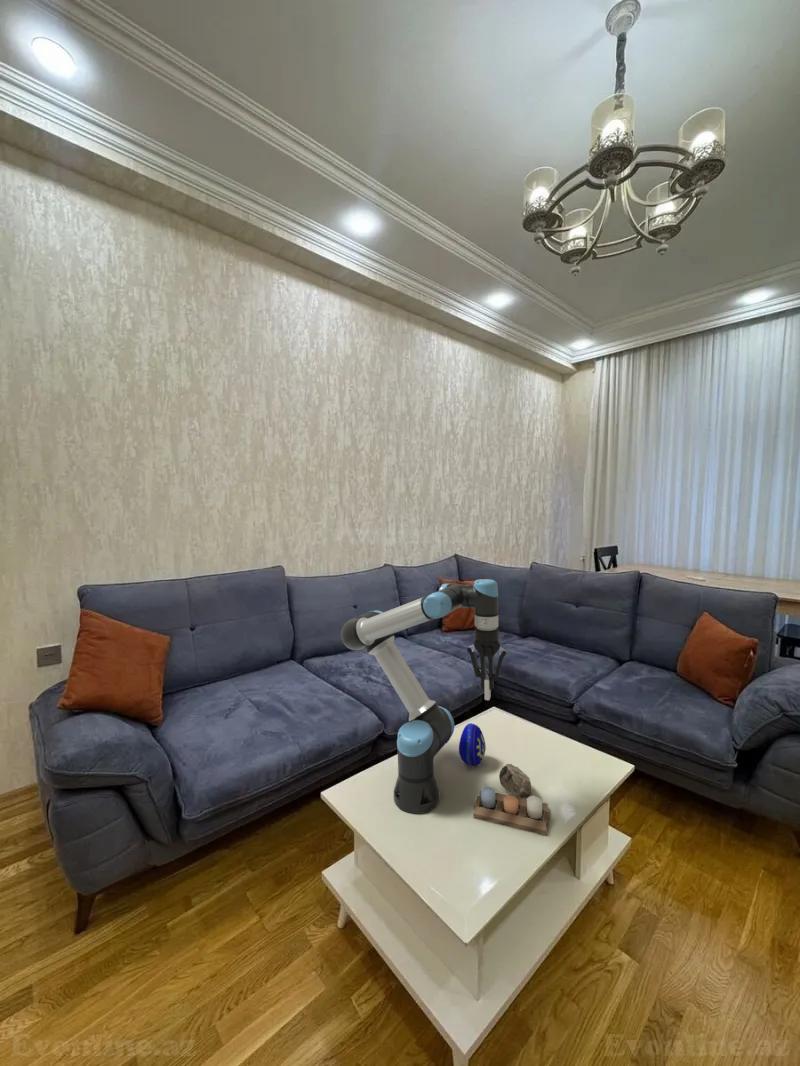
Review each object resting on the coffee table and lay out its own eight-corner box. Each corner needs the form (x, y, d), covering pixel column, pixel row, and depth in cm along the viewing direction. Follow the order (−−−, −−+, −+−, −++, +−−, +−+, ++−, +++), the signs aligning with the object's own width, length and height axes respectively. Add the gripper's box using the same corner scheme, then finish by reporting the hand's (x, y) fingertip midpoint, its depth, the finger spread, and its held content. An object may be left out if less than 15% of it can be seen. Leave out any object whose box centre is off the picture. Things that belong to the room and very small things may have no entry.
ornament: (478, 775, 152) (477, 734, 151) (454, 767, 157) (453, 727, 156) (489, 759, 162) (488, 720, 161) (466, 752, 166) (465, 714, 165)
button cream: (526, 816, 129) (526, 804, 129) (527, 807, 133) (527, 794, 133) (541, 820, 127) (541, 807, 127) (542, 810, 131) (542, 797, 131)
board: (471, 817, 131) (471, 813, 131) (479, 793, 143) (479, 788, 142) (547, 836, 123) (547, 831, 123) (549, 808, 134) (549, 804, 134)
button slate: (480, 805, 134) (479, 793, 134) (482, 797, 138) (482, 785, 138) (494, 809, 133) (494, 796, 132) (496, 800, 137) (496, 788, 136)
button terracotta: (502, 815, 132) (502, 803, 131) (504, 806, 136) (504, 794, 136) (517, 819, 130) (517, 806, 130) (519, 809, 134) (519, 797, 134)
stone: (523, 804, 136) (523, 782, 136) (494, 785, 146) (495, 764, 146) (537, 796, 141) (538, 775, 140) (509, 778, 150) (509, 758, 150)
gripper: (464, 629, 138) (465, 700, 139) (505, 632, 133) (506, 706, 135) (469, 622, 145) (470, 691, 146) (508, 625, 140) (509, 696, 142)
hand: (487, 698), depth 140 cm, fingers closed
